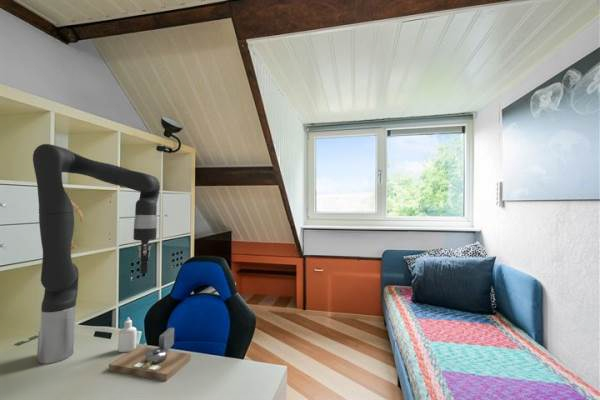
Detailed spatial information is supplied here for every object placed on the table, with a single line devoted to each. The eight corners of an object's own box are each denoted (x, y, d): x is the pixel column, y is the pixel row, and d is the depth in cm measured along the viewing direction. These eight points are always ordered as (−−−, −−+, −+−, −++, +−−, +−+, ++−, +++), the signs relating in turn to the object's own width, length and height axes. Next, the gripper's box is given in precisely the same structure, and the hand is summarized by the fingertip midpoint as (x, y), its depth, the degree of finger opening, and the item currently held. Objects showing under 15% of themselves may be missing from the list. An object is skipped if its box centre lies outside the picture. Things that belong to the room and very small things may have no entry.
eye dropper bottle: (127, 354, 97) (128, 321, 98) (116, 351, 99) (117, 318, 100) (137, 348, 101) (139, 316, 102) (127, 346, 103) (128, 314, 104)
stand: (108, 370, 88) (109, 363, 88) (138, 351, 99) (138, 345, 99) (166, 380, 83) (166, 372, 83) (190, 359, 94) (190, 353, 95)
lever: (136, 367, 85) (137, 348, 86) (163, 343, 101) (163, 327, 101) (156, 368, 85) (157, 349, 85) (179, 344, 101) (180, 327, 101)
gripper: (157, 227, 97) (156, 275, 97) (155, 225, 109) (154, 268, 108) (133, 228, 93) (131, 278, 93) (134, 226, 105) (132, 270, 104)
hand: (143, 273), depth 100 cm, fingers closed
